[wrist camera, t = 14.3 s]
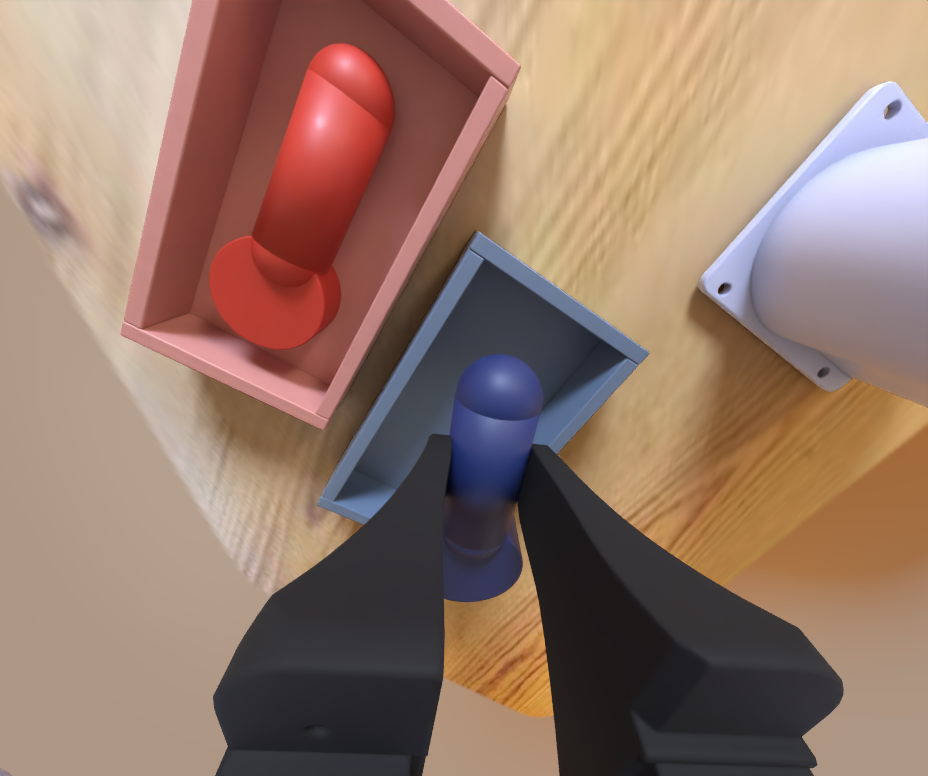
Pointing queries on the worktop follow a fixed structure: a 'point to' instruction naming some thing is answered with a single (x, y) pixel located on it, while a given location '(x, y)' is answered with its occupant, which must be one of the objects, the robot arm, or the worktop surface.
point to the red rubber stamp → (307, 204)
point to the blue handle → (487, 476)
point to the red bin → (252, 162)
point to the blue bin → (466, 340)
